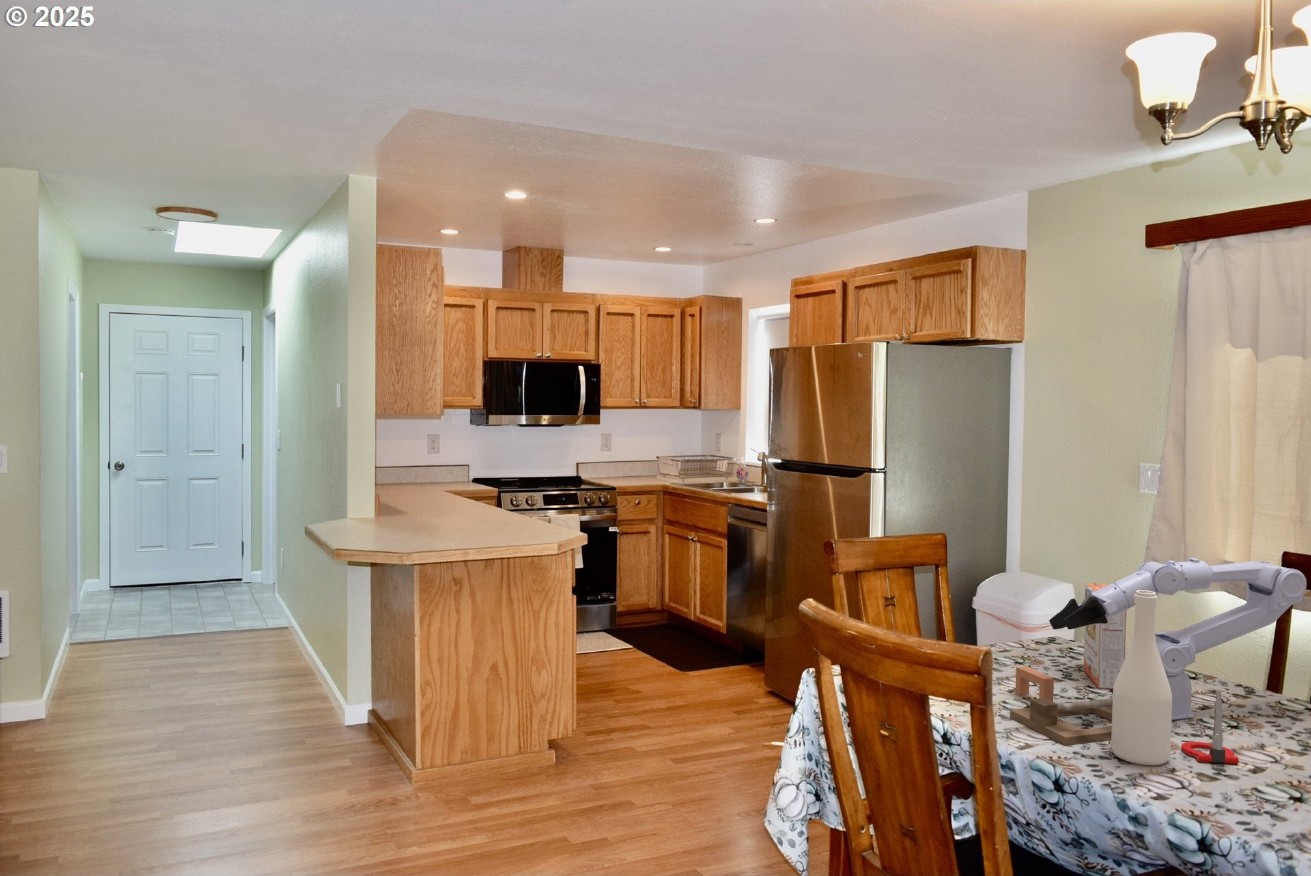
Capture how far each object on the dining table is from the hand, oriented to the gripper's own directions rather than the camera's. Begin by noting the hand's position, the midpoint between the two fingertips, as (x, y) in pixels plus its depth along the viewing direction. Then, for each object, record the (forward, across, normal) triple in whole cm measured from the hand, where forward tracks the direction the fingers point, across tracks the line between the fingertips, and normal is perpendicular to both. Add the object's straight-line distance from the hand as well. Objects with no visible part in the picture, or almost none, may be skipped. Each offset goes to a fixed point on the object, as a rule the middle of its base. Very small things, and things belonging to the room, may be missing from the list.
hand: (1058, 624), depth 197 cm
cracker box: (-13, -29, +19) cm, 37 cm away
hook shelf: (+4, 0, +19) cm, 20 cm away
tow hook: (-8, +14, +30) cm, 34 cm away
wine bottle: (+3, +15, +24) cm, 29 cm away
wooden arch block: (+7, -15, +14) cm, 22 cm away
